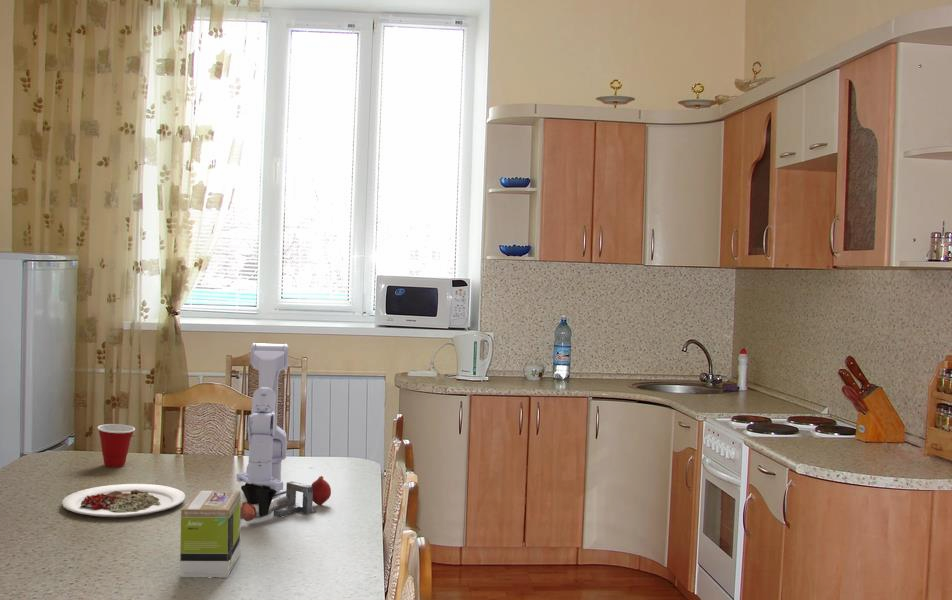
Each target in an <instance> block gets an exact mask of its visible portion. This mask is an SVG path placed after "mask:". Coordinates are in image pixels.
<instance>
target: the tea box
mask: <svg viewBox="0 0 952 600" xmlns="http://www.w3.org/2000/svg"><path fill="white" fill-rule="evenodd" d="M240 500H241V491H240V490H196V491H195V493H194V494H193V495H192V496H191V497H190V499H189V500H188V501H187V502H186V503H185V505H184V506H183V507H182V509H180V510H181V511H180V547H179V548H180V551H179V552H180V555H179V557H180V559H179V560H180V561H179V563H180V565H179V567H180V568H179V571H180V572H179V575H180V578H181V577H216V578H215V579H225V578H228V577H229V576H230V573H231V571H232V569H233V568H234V566H235V564H236V563H237V560H238V558H239V556H240V554H241V518H240ZM217 577H218V578H217Z"/></svg>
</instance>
